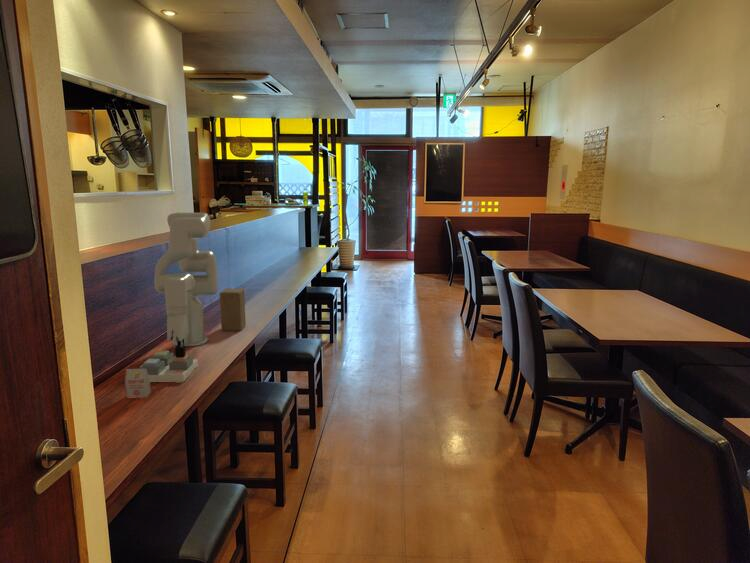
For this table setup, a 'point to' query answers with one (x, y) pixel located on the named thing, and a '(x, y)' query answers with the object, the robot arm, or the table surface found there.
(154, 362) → the slate button
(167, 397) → the table surface
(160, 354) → the sage button
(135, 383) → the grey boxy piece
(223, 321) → the wooden block
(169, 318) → the robot arm
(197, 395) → the table surface
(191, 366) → the button panel
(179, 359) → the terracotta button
